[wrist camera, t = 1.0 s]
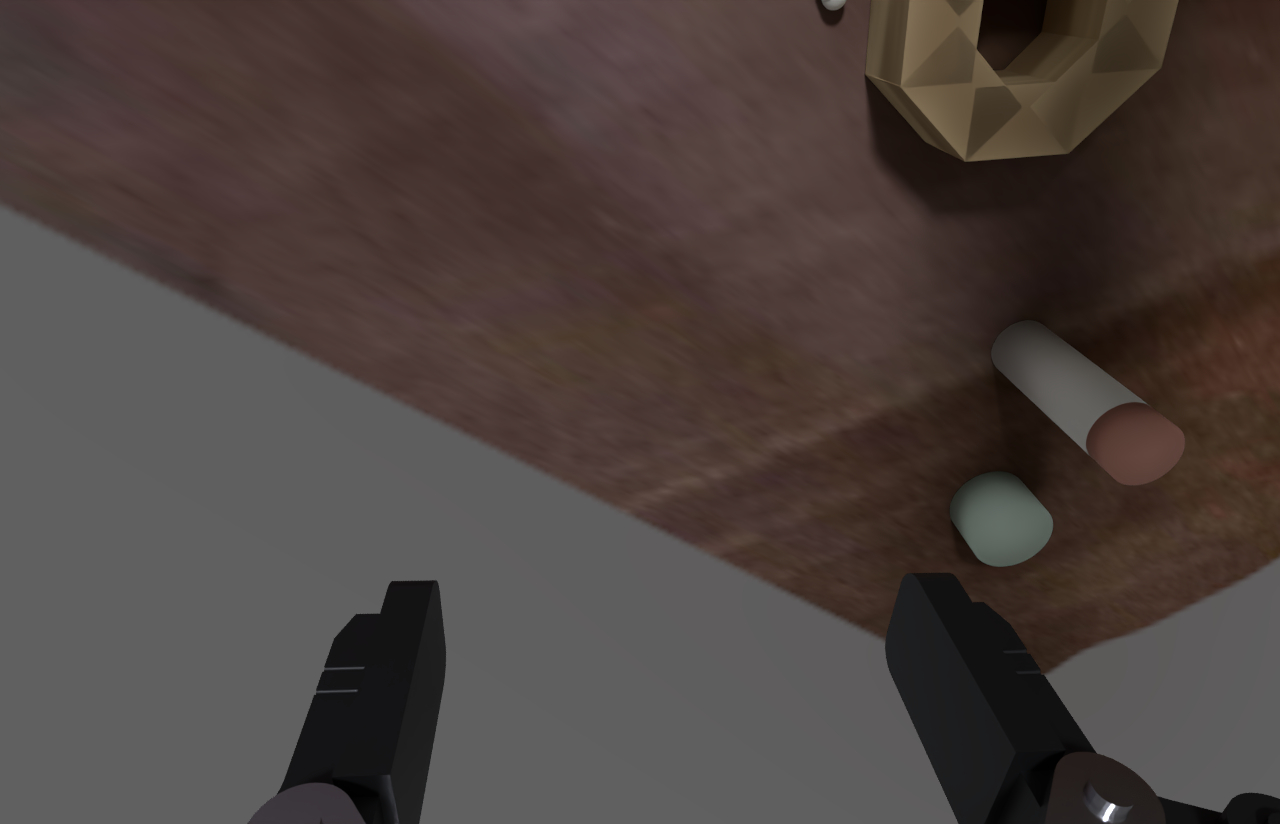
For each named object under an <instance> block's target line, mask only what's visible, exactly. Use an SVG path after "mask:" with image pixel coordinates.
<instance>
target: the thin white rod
mask: <svg viewBox="0 0 1280 824" xmlns="http://www.w3.org/2000/svg"><path fill="white" fill-rule="evenodd" d="M821 1H822V3H823V5H824V6H825V7H826V8H827V9H829V10H838V9H840V8H841V7H842V6H843V5H844V4H845V2H846V0H821Z"/></svg>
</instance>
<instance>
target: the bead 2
mask: <svg viewBox="0 0 1280 824" xmlns="http://www.w3.org/2000/svg"><path fill="white" fill-rule="evenodd" d="M949 511H950V517H951V520H952V522H953V523H954V525H955V526H956V528H957V529H958V531H959V532H960V533H961V535H962V536H963V538H964V539H965V541H966V542H967V544H968V545H969V547H970V548H971V549H972V551H973V552H974V554H975V555H976V557H977V558H978V559H979V560H980V561H982V562H983V563H985V564H988V565H991V566H999V567H1002V566H1011V565H1015V564H1018V563H1021V562H1023V561H1025V560H1027V559H1029V558H1031V557H1032V556H1034V555H1035V554H1036V553H1038V552H1039V551H1040V550H1041V549H1042V548H1043V547H1044V546H1045V545H1046V543H1047V542H1048V540H1049V538H1050V536H1051V534H1052V530H1053V520H1052V517H1051V515H1050V513H1049V512H1048V511H1047V510H1046V509H1045V507H1044V506H1043V505H1042V504H1041V503H1040V502H1039V501H1038V499H1037V498H1036V497H1035V496H1034V495H1033V494H1032V493H1031V491H1030V490H1029V489H1028V488H1027V487H1026V486H1025V485H1024V483H1023V482H1022V481H1021V480H1020V479H1019V478H1018V477H1017V476H1015V475H1013V474H1011V473H1008V472H1002V471H994V472H988V473H984V474H981V475H978V476H976V477H974V478H972V479H971V480H969V481H968V482H966V483H965V484H964V485H963V486H962V487H961V488H960V489H959V490H958V491H957V492H956V494H955V495H954V497H953V499H952V501H951V504H950V510H949Z"/></svg>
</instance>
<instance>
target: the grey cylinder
mask: <svg viewBox="0 0 1280 824" xmlns="http://www.w3.org/2000/svg"><path fill="white" fill-rule="evenodd" d="M991 358H992V362H993V364H994V366H995V367H996V368H997V369H998V370H999V371H1000V372H1001V373H1002V374H1003V375H1005V376H1006V377H1007V378H1008V379H1009V380H1010V381H1011V382H1012V383H1013V384H1014V385H1015V386H1016V387H1017V388H1018V389H1019V390H1020V391H1021V392H1023V393H1024V394H1025V395H1026V396H1027V397H1028V398H1029V399H1030V400H1031V401H1032V402H1033V403H1034V404H1035V405H1036V406H1037V407H1038V408H1040V409H1041V410H1042V411H1043V412H1044V413H1045V414H1046V415H1047V416H1048V417H1049V418H1050V419H1051V420H1052V421H1053V422H1054V423H1055V424H1057V425H1058V426H1059V427H1060V428H1061V429H1062V430H1063V431H1064V432H1065V433H1066V434H1067V435H1068V436H1069V437H1070V438H1071V439H1072V440H1073V441H1075V442H1076V443H1077V444H1078V445H1079V446H1080V447H1081V448H1082V449H1083V450H1084V451H1085V452H1086V453H1087V454H1088V455H1089V456H1090V457H1092V458H1093V459H1094V460H1095V461H1096V462H1097V463H1098V464H1099V465H1100V466H1101V467H1102V468H1103V469H1104V470H1105V471H1106V472H1107V473H1108V474H1110V475H1111V476H1112V477H1113V478H1114V479H1115V480H1116V481H1118V482H1119V483H1122V484H1125V485H1132V486H1133V485H1142V484H1146V483H1149V482H1152V481H1154V480H1156V479H1158V478H1160V477H1162V476H1163V475H1165V474H1166V473H1167V472H1168V471H1170V470H1171V469H1172V468H1173V467H1174V466H1175V464H1176V463H1177V462H1178V461H1179V459H1180V457H1181V456H1182V453H1183V451H1184V447H1185V437H1184V434H1183V432H1182V431H1181V429H1179V428H1178V427H1177V426H1176V425H1175V424H1173V423H1172V422H1171V421H1169V420H1168V419H1167V418H1165V417H1164V416H1163V415H1161V414H1160V413H1159V412H1157V411H1156V410H1155V409H1153V408H1152V407H1151V406H1149V405H1148V404H1147V403H1146V402H1144V401H1143V400H1142V399H1140V398H1139V397H1138V396H1136V395H1135V394H1134V393H1132V392H1131V391H1130V390H1128V389H1127V388H1126V387H1124V386H1123V385H1122V384H1120V383H1119V382H1118V381H1117V380H1115V379H1114V378H1113V377H1111V376H1110V375H1109V374H1107V373H1106V372H1105V371H1103V370H1102V369H1101V368H1099V367H1098V366H1097V365H1095V364H1094V363H1093V362H1091V361H1090V360H1089V359H1088V358H1086V357H1085V356H1084V355H1082V354H1081V353H1080V352H1078V351H1077V350H1076V349H1074V348H1073V347H1072V346H1070V345H1069V344H1068V343H1066V342H1065V341H1064V340H1062V339H1061V338H1060V337H1058V336H1057V335H1056V334H1055V333H1053V332H1052V331H1051V330H1049V329H1048V328H1047V327H1045V326H1044V325H1043V324H1041V323H1039V322H1037V321H1033V320H1025V321H1020V322H1017V323H1014V324H1012V325H1010V326H1009V327H1007V328H1006V329H1005V330H1003V331H1002V332H1001V333H1000V334H999V336H998V337H997V338H996V340H995V342H994V344H993V346H992V350H991Z"/></svg>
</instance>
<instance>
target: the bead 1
mask: <svg viewBox="0 0 1280 824" xmlns="http://www.w3.org/2000/svg"><path fill="white" fill-rule="evenodd" d="M983 1H984V0H871V9H870V21H869V34H868V46H867V58H866V71H865V75H866V76H867V77H868V78H869V79H870V80H871V81H872V83H873V84H874V85H875V86H876V87H877V88H878V89H879V90H880V92H881V93H882V94H883V95H884V96H885V97H886V98H887V99H888V101H889V102H890V103H891V104H892V105H893V106H894V107H895V108H896V110H897V111H898V112H899V113H900V114H901V115H902V116H903V117H904V119H905V120H906V121H907V122H908V123H909V124H910V125H911V126H912V128H913V129H914V130H915V131H916V132H917V133H918V134H919V135H920V137H921V138H922V139H923V140H924V141H925V142H926V143H928V144H930V145H932V146H934V147H936V148H938V149H940V150H942V151H944V152H946V153H948V154H950V155H952V156H954V157H956V158H958V159H960V160H962V161H964V162H969V161H982V160H995V159H1007V158H1020V157H1032V156H1045V155H1058V154H1069V153H1070V152H1071V151H1072V150H1073V149H1074V148H1075V147H1076V146H1077V145H1078V144H1079V143H1080V142H1082V141H1083V140H1084V139H1085V138H1086V137H1087V136H1088V135H1089V134H1090V133H1091V132H1092V131H1093V130H1094V129H1096V128H1097V127H1098V126H1099V125H1100V124H1101V123H1102V122H1103V121H1104V120H1105V119H1106V118H1107V117H1108V116H1110V115H1111V114H1112V113H1113V112H1114V111H1115V110H1116V109H1117V108H1118V107H1119V106H1120V105H1121V104H1123V103H1124V102H1125V101H1126V100H1127V99H1128V98H1129V97H1130V96H1131V95H1132V94H1133V93H1134V92H1135V91H1137V90H1138V89H1139V88H1140V87H1141V86H1142V85H1143V84H1144V83H1145V82H1146V81H1147V80H1148V79H1149V78H1151V77H1152V76H1153V75H1154V74H1155V73H1156V72H1157V71H1158V70H1159V69H1160V68H1161V67H1162V63H1163V59H1164V55H1165V51H1166V47H1167V44H1168V40H1169V36H1170V32H1171V28H1172V24H1173V20H1174V17H1175V13H1176V9H1177V5H1178V1H1179V0H1047V5H1046V10H1045V16H1044V21H1043V27H1042V32H1041V33H1040V34H1039V35H1038V36H1037V37H1036V38H1035V39H1034V40H1033V41H1032V42H1031V43H1030V44H1029V45H1028V46H1027V47H1026V48H1025V49H1024V50H1023V51H1022V52H1021V53H1020V54H1019V55H1018V56H1017V57H1016V58H1015V59H1014V60H1013V61H1012V62H1011V63H1010V64H1009V65H1008V66H1007V67H1006V68H1005V69H1004V70H995V71H994V70H993V69H992V68H991V67H990V65H989V64H988V63H987V62H986V60H985V59H984V58H983V56H982V55H981V54H980V53H979V51H978V50H977V42H978V35H979V28H980V21H981V14H982V8H983Z"/></svg>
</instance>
